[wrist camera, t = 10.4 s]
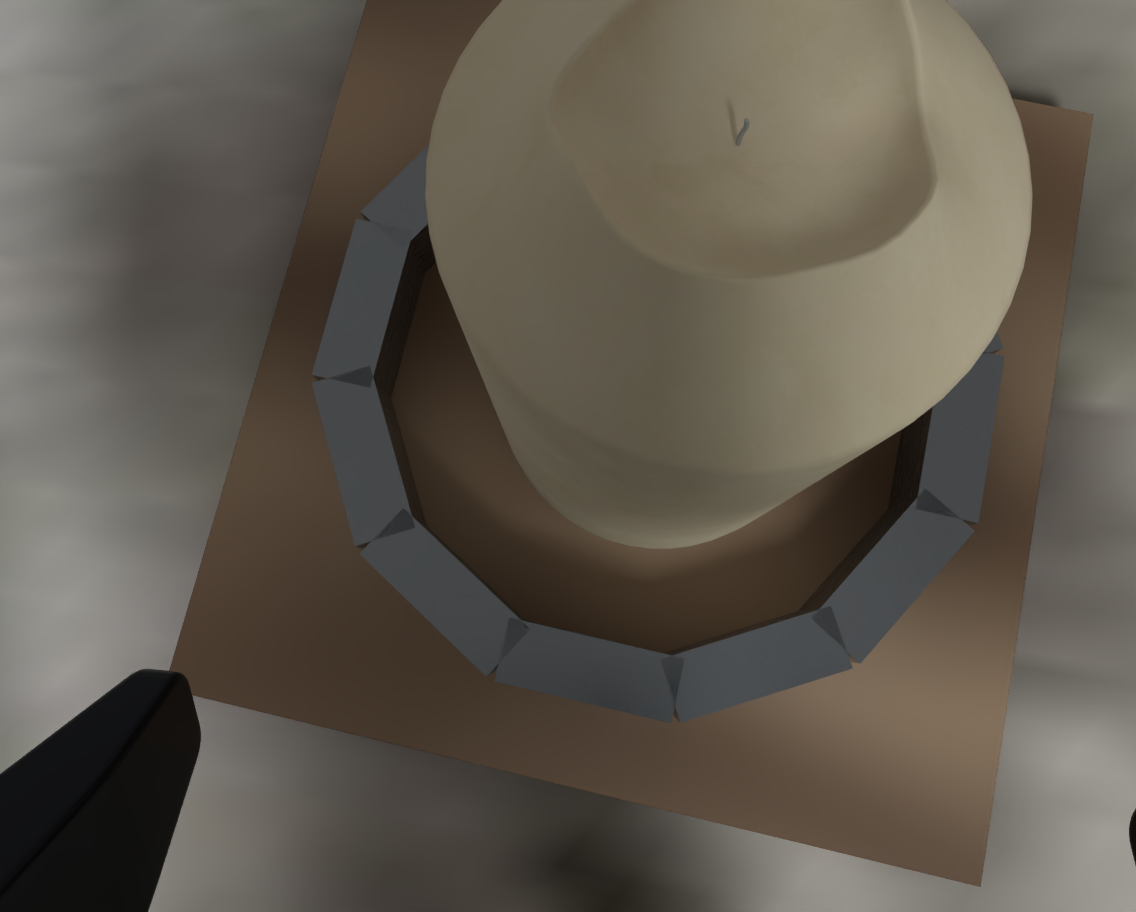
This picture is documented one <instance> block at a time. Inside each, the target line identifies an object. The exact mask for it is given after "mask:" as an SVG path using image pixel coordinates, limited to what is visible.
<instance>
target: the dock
mask: <svg viewBox="0 0 1136 912" xmlns="http://www.w3.org/2000/svg"><path fill="white" fill-rule="evenodd" d="M501 1H502V0H367V2H366V6H365V9H364V12H363V16H362V19H361V23H360V26H359V29H358V33H357V36H356V40H355V43H354V46H353V50H352V53H351V56H350V60H349V63H348V67H347V70H346V73H345V77H344V80H343V84H342V87H341V90H340V94H339V97H338V101H337V104H336V107H335V111H334V114H333V117H332V121H331V124H330V128H329V131H328V134H327V138H326V141H325V145H324V148H323V151H322V155H321V158H320V162H319V165H318V168H317V172H316V175H315V178H314V182H313V185H312V189H311V192H310V195H309V199H308V202H307V206H306V209H305V212H304V216H303V219H302V223H301V226H300V229H299V233H298V236H297V239H296V243H295V246H294V250H293V253H292V256H291V260H290V263H289V267H288V270H287V273H286V277H285V280H284V284H283V287H282V290H281V294H280V297H279V300H278V304H277V307H276V311H275V314H274V317H273V321H272V324H271V328H270V331H269V334H268V338H267V341H266V345H265V348H264V351H263V355H262V358H261V362H260V365H259V368H258V372H257V375H256V378H255V382H254V385H253V389H252V392H251V395H250V399H249V402H248V406H247V409H246V412H245V416H244V419H243V423H242V426H241V429H240V433H239V436H238V439H237V443H236V446H235V450H234V453H233V456H232V460H231V463H230V467H229V470H228V473H227V477H226V480H225V484H224V487H223V490H222V494H221V497H220V500H219V504H218V507H217V511H216V514H215V517H214V521H213V524H212V528H211V531H210V534H209V538H208V541H207V545H206V548H205V551H204V555H203V558H202V561H201V565H200V568H199V572H198V575H197V578H196V582H195V585H194V589H193V592H192V595H191V599H190V602H189V606H188V609H187V612H186V616H185V619H184V623H183V626H182V629H181V633H180V636H179V639H178V643H177V646H176V650H175V653H174V656H173V660H172V663H171V667H170V670H169V671H177V672H180V673H182V674H183V675H185V677H186V678H187V679H188V682H189V685H190V689H191V693H192V695H194V696H198V697H202V698H206V699H210V700H215V701H219V702H223V703H227V704H231V705H235V706H239V707H243V708H247V709H252V710H256V711H260V712H264V713H268V714H272V715H276V716H280V717H284V718H289V719H293V720H297V721H301V722H305V723H309V724H313V725H317V726H321V727H326V728H330V729H334V730H338V731H342V732H346V733H350V734H354V735H358V736H363V737H367V738H371V739H375V740H379V741H383V742H387V743H391V744H395V745H400V746H404V747H408V748H412V749H416V750H420V751H424V752H428V753H432V754H437V755H441V756H445V757H449V758H453V759H457V760H461V761H465V762H469V763H474V764H478V765H482V766H486V767H490V768H494V769H498V770H502V771H506V772H511V773H515V774H519V775H523V776H527V777H531V778H535V779H539V780H543V781H548V782H552V783H556V784H560V785H564V786H568V787H572V788H576V789H580V790H585V791H589V792H593V793H597V794H601V795H605V796H609V797H613V798H617V799H622V800H626V801H630V802H634V803H638V804H642V805H646V806H650V807H654V808H659V809H663V810H667V811H671V812H675V813H679V814H683V815H687V816H691V817H696V818H700V819H704V820H708V821H712V822H716V823H720V824H724V825H728V826H733V827H737V828H741V829H745V830H749V831H753V832H757V833H761V834H765V835H770V836H774V837H778V838H782V839H786V840H790V841H794V842H798V843H802V844H807V845H811V846H815V847H819V848H823V849H827V850H831V851H835V852H839V853H844V854H848V855H852V856H856V857H860V858H864V859H868V860H872V861H876V862H881V863H885V864H889V865H893V866H897V867H901V868H905V869H909V870H913V871H918V872H922V873H926V874H930V875H934V876H938V877H942V878H946V879H950V880H955V881H959V882H963V883H967V884H971V885H975V886H979V887H981V880H982V873H983V866H984V859H985V853H986V846H987V839H988V832H989V825H990V818H991V811H992V805H993V798H994V791H995V784H996V777H997V770H998V764H999V757H1000V750H1001V743H1002V736H1003V729H1004V723H1005V716H1006V709H1007V702H1008V695H1009V688H1010V682H1011V675H1012V668H1013V661H1014V654H1015V647H1016V641H1017V634H1018V627H1019V620H1020V613H1021V606H1022V600H1023V593H1024V586H1025V579H1026V572H1027V565H1028V559H1029V552H1030V545H1031V538H1032V531H1033V524H1034V517H1035V511H1036V504H1037V497H1038V490H1039V483H1040V476H1041V470H1042V463H1043V456H1044V449H1045V442H1046V435H1047V429H1048V422H1049V415H1050V408H1051V401H1052V394H1053V388H1054V381H1055V374H1056V367H1057V360H1058V353H1059V347H1060V340H1061V333H1062V326H1063V319H1064V312H1065V306H1066V299H1067V292H1068V285H1069V278H1070V271H1071V265H1072V258H1073V251H1074V244H1075V237H1076V230H1077V223H1078V217H1079V210H1080V203H1081V196H1082V189H1083V182H1084V176H1085V169H1086V162H1087V155H1088V148H1089V141H1090V135H1091V128H1092V121H1093V114H1089V113H1084V112H1079V111H1074V110H1069V109H1064V108H1058V107H1053V106H1048V105H1043V104H1038V103H1033V102H1028V101H1023V100H1018V99H1013V98H1012V99H1013V102H1014V104H1015V107H1016V110H1017V112H1018V115H1019V117H1020V120H1021V124H1022V128H1023V133H1024V137H1025V141H1026V145H1027V150H1028V154H1029V160H1030V171H1031V182H1032V193H1033V196H1032V215H1031V232H1030V237H1029V243H1028V248H1027V253H1026V258H1025V263H1024V268H1023V271H1022V274H1021V277H1020V280H1019V282H1018V285H1017V288H1016V291H1015V294H1014V297H1013V299H1012V302H1011V305H1010V307H1009V309H1008V311H1007V313H1006V314H1005V316H1004V318H1003V320H1002V322H1001V324H1000V326H999V328H998V330H997V332H996V334H995V335H994V337H993V339H992V340H991V342H990V343H989V345H988V346H987V347H986V349H985V350H984V352H983V353H982V354H981V356H980V357H979V358H978V360H977V361H976V363H975V364H974V365H973V367H972V368H971V370H970V371H969V372H968V373H967V374H966V375H965V376H964V377H963V378H962V379H961V380H960V381H959V382H958V383H957V384H956V385H955V386H954V387H953V388H952V389H951V390H950V392H949V393H948V394H947V395H946V396H945V397H944V398H943V399H941V400H940V401H939V402H938V403H936V404H935V405H934V406H933V407H931V408H930V409H929V410H928V411H926V412H925V413H924V414H922V415H921V416H920V417H919V418H917V419H916V420H915V421H914V422H912V423H911V424H909V425H908V426H906V427H905V428H903V429H902V430H900V431H898V432H897V433H895V434H893V435H892V436H890V437H889V438H887V439H885V440H884V441H882V442H881V443H879V444H877V445H876V446H874V447H872V448H871V449H869V450H868V451H866V452H864V453H863V454H861V455H859V456H858V457H856V458H855V459H853V460H851V461H850V462H848V463H846V464H845V465H843V466H842V467H840V468H838V469H837V470H835V471H833V472H832V473H830V474H828V475H827V476H825V477H824V478H822V479H820V480H819V481H817V482H815V483H814V484H812V485H811V486H809V487H807V488H806V489H804V490H802V491H801V492H799V493H798V494H796V495H794V496H793V497H791V498H789V499H788V500H786V501H785V502H783V503H781V504H780V505H778V506H776V507H775V508H773V509H772V510H770V511H768V512H767V513H765V514H763V515H762V516H760V517H759V518H757V519H755V520H753V521H752V522H750V523H748V524H747V525H745V526H743V527H741V528H740V529H738V530H736V531H733V532H731V533H729V534H726V535H724V536H722V537H719V538H717V539H715V540H712V541H708V542H705V543H701V544H697V545H694V546H688V547H680V548H673V549H648V548H641V547H633V546H627V545H623V544H620V543H616V542H612V541H609V540H606V539H604V538H601V537H599V536H596V535H594V534H592V533H589V532H587V531H586V530H584V529H582V528H581V527H579V526H577V525H575V524H574V523H572V522H570V521H569V520H568V519H566V518H565V517H564V516H562V515H561V514H560V513H559V512H557V511H556V510H555V509H554V508H553V507H552V506H551V505H550V504H549V503H548V502H547V501H546V500H545V499H544V498H543V497H542V496H541V495H540V494H539V493H538V492H537V490H536V489H535V488H534V486H533V485H532V484H531V483H530V481H529V480H528V479H527V477H526V475H525V473H524V472H523V470H522V468H521V467H520V465H519V463H518V461H517V459H516V458H515V456H514V454H513V452H512V449H511V447H510V445H509V442H508V440H507V437H506V435H505V432H504V430H503V428H502V425H501V423H500V420H499V418H498V415H497V413H496V410H495V408H494V406H493V403H492V401H491V398H490V396H489V393H488V391H487V389H486V386H485V384H484V381H483V379H482V376H481V374H480V372H479V369H478V367H477V364H476V362H475V359H474V357H473V354H472V352H471V350H470V347H469V345H468V342H467V340H466V337H465V335H464V333H463V330H462V328H461V325H460V323H459V320H458V318H457V315H456V313H455V311H454V308H453V306H452V303H451V301H450V298H449V296H448V293H447V291H446V289H445V286H444V284H443V281H442V279H441V276H440V273H439V270H438V267H437V263H436V259H435V255H434V251H433V247H432V243H431V239H430V235H429V227H428V218H427V209H426V200H425V191H426V160H427V155H428V149H429V143H430V137H431V131H432V125H433V122H434V119H435V116H436V113H437V109H438V106H439V103H440V100H441V97H442V94H443V91H444V88H445V86H446V84H447V82H448V80H449V78H450V76H451V74H452V72H453V69H454V67H455V65H456V63H457V61H458V59H459V57H460V56H461V54H462V53H463V51H464V49H465V48H466V46H467V45H468V43H469V42H470V40H471V39H472V37H473V36H474V34H475V33H476V31H477V30H478V28H479V27H480V26H481V24H482V23H483V22H484V21H485V20H486V19H487V17H488V16H489V15H490V14H491V13H492V12H493V10H494V9H495V8H496V7H497V6H498V5H499V3H500V2H501Z"/></svg>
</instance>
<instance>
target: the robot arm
mask: <svg viewBox="0 0 1136 912" xmlns="http://www.w3.org/2000/svg"><path fill="white" fill-rule="evenodd" d="M200 742H201V730H200V725H199V721H198V717H197V713H196V709H195V705H194V701H193V697H192V693H191V689H190V685H189V682H188V679H187V678H186V677H185V675H183V674H182V673H180V672H177V671H166V670H155V669H142V670H139V671H137V672H135V673H133V674H131V675H130V676H128V677H127V678H126V679H124V680H123V681H122V682H121V683H119V684H118V685H117V686H115V687H114V688H113V689H111V690H110V691H109V692H107V693H106V694H105V695H103V696H102V697H101V698H100V699H98V700H97V701H96V702H94V703H93V704H92V705H90V706H89V707H88V708H86V709H85V710H84V711H82V712H81V713H80V714H78V715H77V716H76V717H75V718H73V719H72V720H71V721H69V722H68V723H67V724H65V725H64V726H63V727H61V728H60V729H59V730H57V731H56V732H55V733H53V734H52V735H51V736H50V737H48V738H47V739H46V740H44V741H43V742H42V743H40V744H39V745H38V746H36V747H35V748H34V749H32V750H31V751H30V752H28V753H27V754H26V755H25V756H23V757H22V758H21V759H19V760H18V761H17V762H15V763H14V764H13V765H11V766H10V767H9V768H7V769H6V770H5V771H3V772H2V773H1V774H0V912H148V910H149V907H150V904H151V901H152V899H153V896H154V893H155V890H156V887H157V884H158V881H159V877H160V874H161V871H162V868H163V865H164V862H165V858H166V855H167V852H168V849H169V846H170V843H171V839H172V836H173V833H174V830H175V827H176V824H177V821H178V817H179V814H180V811H181V808H182V805H183V802H184V798H185V795H186V792H187V789H188V786H189V783H190V779H191V776H192V773H193V770H194V767H195V764H196V760H197V757H198V754H199V749H200ZM1129 837H1130V844H1131V849H1132V853H1133V857H1134V861H1135V865H1136V809H1135V811H1134V812H1133V815H1132V817H1131V821H1130V826H1129Z"/></svg>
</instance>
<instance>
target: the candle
mask: <svg viewBox="0 0 1136 912" xmlns="http://www.w3.org/2000/svg"><path fill="white" fill-rule="evenodd" d="M1032 196H1033V193H1032V182H1031V171H1030V160H1029V154H1028V150H1027V145H1026V141H1025V137H1024V133H1023V128H1022V124H1021V120H1020V117H1019V115H1018V112H1017V110H1016V107H1015V104H1014V102H1013V99H1012V97H1011V94H1010V91H1009V89H1008V86H1007V84H1006V82H1005V81H1004V79H1003V77H1002V75H1001V73H1000V71H999V70H998V68H997V66H996V64H995V62H994V60H993V59H992V57H991V55H990V53H989V52H988V50H987V49H986V48H985V46H984V45H983V44H982V42H981V41H980V39H979V38H978V37H977V35H976V34H975V33H974V31H973V30H972V28H971V27H970V26H969V24H968V23H967V22H966V21H965V20H964V19H963V18H962V17H961V16H960V14H959V13H958V12H957V11H956V10H955V9H954V8H953V7H952V6H951V5H950V4H949V3H948V2H947V1H946V0H502V1H501V2H500V3H499V5H498V6H497V7H496V8H495V9H494V10H493V12H492V13H491V14H490V15H489V16H488V17H487V19H486V20H485V21H484V22H483V23H482V24H481V26H480V27H479V28H478V30H477V31H476V33H475V34H474V36H473V37H472V39H471V40H470V42H469V43H468V45H467V46H466V48H465V49H464V51H463V53H462V54H461V56H460V57H459V59H458V61H457V63H456V65H455V67H454V69H453V72H452V74H451V76H450V78H449V80H448V82H447V84H446V86H445V88H444V91H443V94H442V97H441V100H440V103H439V106H438V109H437V113H436V116H435V119H434V122H433V125H432V131H431V137H430V143H429V149H428V155H427V160H426V191H425V200H426V209H427V218H428V227H429V235H430V239H431V243H432V247H433V251H434V255H435V259H436V263H437V267H438V270H439V273H440V276H441V279H442V281H443V284H444V286H445V289H446V291H447V293H448V296H449V298H450V301H451V303H452V306H453V308H454V311H455V313H456V315H457V318H458V320H459V323H460V325H461V328H462V330H463V333H464V335H465V337H466V340H467V342H468V345H469V347H470V350H471V352H472V354H473V357H474V359H475V362H476V364H477V367H478V369H479V372H480V374H481V376H482V379H483V381H484V384H485V386H486V389H487V391H488V393H489V396H490V398H491V401H492V403H493V406H494V408H495V410H496V413H497V415H498V418H499V420H500V423H501V425H502V428H503V430H504V432H505V435H506V437H507V440H508V442H509V445H510V447H511V449H512V452H513V454H514V456H515V458H516V459H517V461H518V463H519V465H520V467H521V468H522V470H523V472H524V473H525V475H526V477H527V479H528V480H529V481H530V483H531V484H532V485H533V486H534V488H535V489H536V490H537V492H538V493H539V494H540V495H541V496H542V497H543V498H544V499H545V500H546V501H547V502H548V503H549V504H550V505H551V506H552V507H553V508H554V509H555V510H556V511H557V512H559V513H560V514H561V515H562V516H564V517H565V518H566V519H568V520H569V521H570V522H572V523H574V524H575V525H577V526H579V527H581V528H582V529H584V530H586V531H587V532H589V533H592V534H594V535H596V536H599V537H601V538H604V539H606V540H609V541H612V542H616V543H620V544H623V545H627V546H633V547H641V548H648V549H673V548H680V547H688V546H694V545H697V544H701V543H705V542H708V541H712V540H715V539H717V538H719V537H722V536H724V535H726V534H729V533H731V532H733V531H736V530H738V529H740V528H741V527H743V526H745V525H747V524H748V523H750V522H752V521H753V520H755V519H757V518H759V517H760V516H762V515H763V514H765V513H767V512H768V511H770V510H772V509H773V508H775V507H776V506H778V505H780V504H781V503H783V502H785V501H786V500H788V499H789V498H791V497H793V496H794V495H796V494H798V493H799V492H801V491H802V490H804V489H806V488H807V487H809V486H811V485H812V484H814V483H815V482H817V481H819V480H820V479H822V478H824V477H825V476H827V475H828V474H830V473H832V472H833V471H835V470H837V469H838V468H840V467H842V466H843V465H845V464H846V463H848V462H850V461H851V460H853V459H855V458H856V457H858V456H859V455H861V454H863V453H864V452H866V451H868V450H869V449H871V448H872V447H874V446H876V445H877V444H879V443H881V442H882V441H884V440H885V439H887V438H889V437H890V436H892V435H893V434H895V433H897V432H898V431H900V430H902V429H903V428H905V427H906V426H908V425H909V424H911V423H912V422H914V421H915V420H916V419H917V418H919V417H920V416H921V415H922V414H924V413H925V412H926V411H928V410H929V409H930V408H931V407H933V406H934V405H935V404H936V403H938V402H939V401H940V400H941V399H943V398H944V397H945V396H946V395H947V394H948V393H949V392H950V390H951V389H952V388H953V387H954V386H955V385H956V384H957V383H958V382H959V381H960V380H961V379H962V378H963V377H964V376H965V375H966V374H967V373H968V372H969V371H970V370H971V368H972V367H973V365H974V364H975V363H976V361H977V360H978V358H979V357H980V356H981V354H982V353H983V352H984V350H985V349H986V347H987V346H988V345H989V343H990V342H991V340H992V339H993V337H994V335H995V334H996V332H997V330H998V328H999V326H1000V324H1001V322H1002V320H1003V318H1004V316H1005V314H1006V313H1007V311H1008V309H1009V307H1010V305H1011V302H1012V299H1013V297H1014V294H1015V291H1016V288H1017V285H1018V282H1019V280H1020V277H1021V274H1022V271H1023V268H1024V263H1025V258H1026V253H1027V248H1028V243H1029V237H1030V232H1031V215H1032Z"/></svg>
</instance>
